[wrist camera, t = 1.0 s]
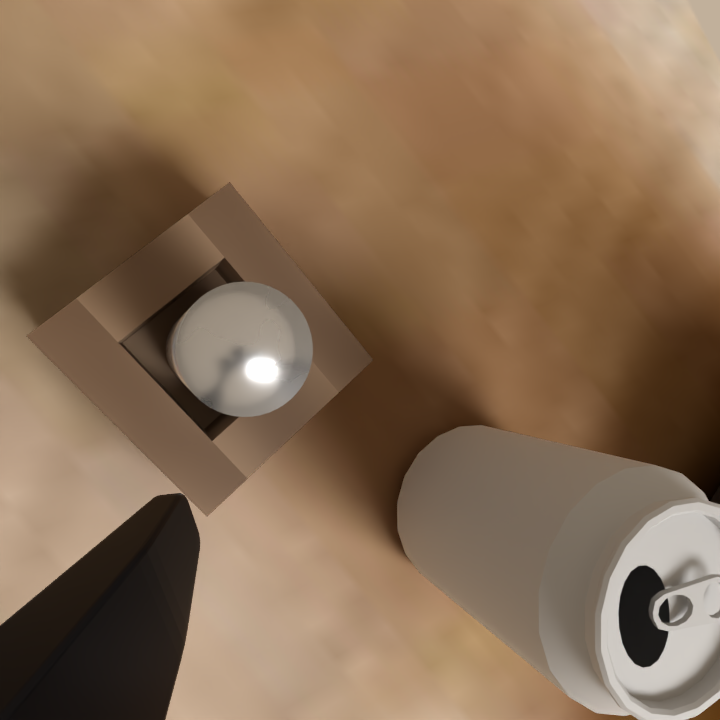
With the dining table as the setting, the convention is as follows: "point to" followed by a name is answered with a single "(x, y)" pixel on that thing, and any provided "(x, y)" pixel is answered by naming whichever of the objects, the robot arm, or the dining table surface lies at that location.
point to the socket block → (148, 348)
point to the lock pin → (241, 349)
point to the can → (574, 565)
